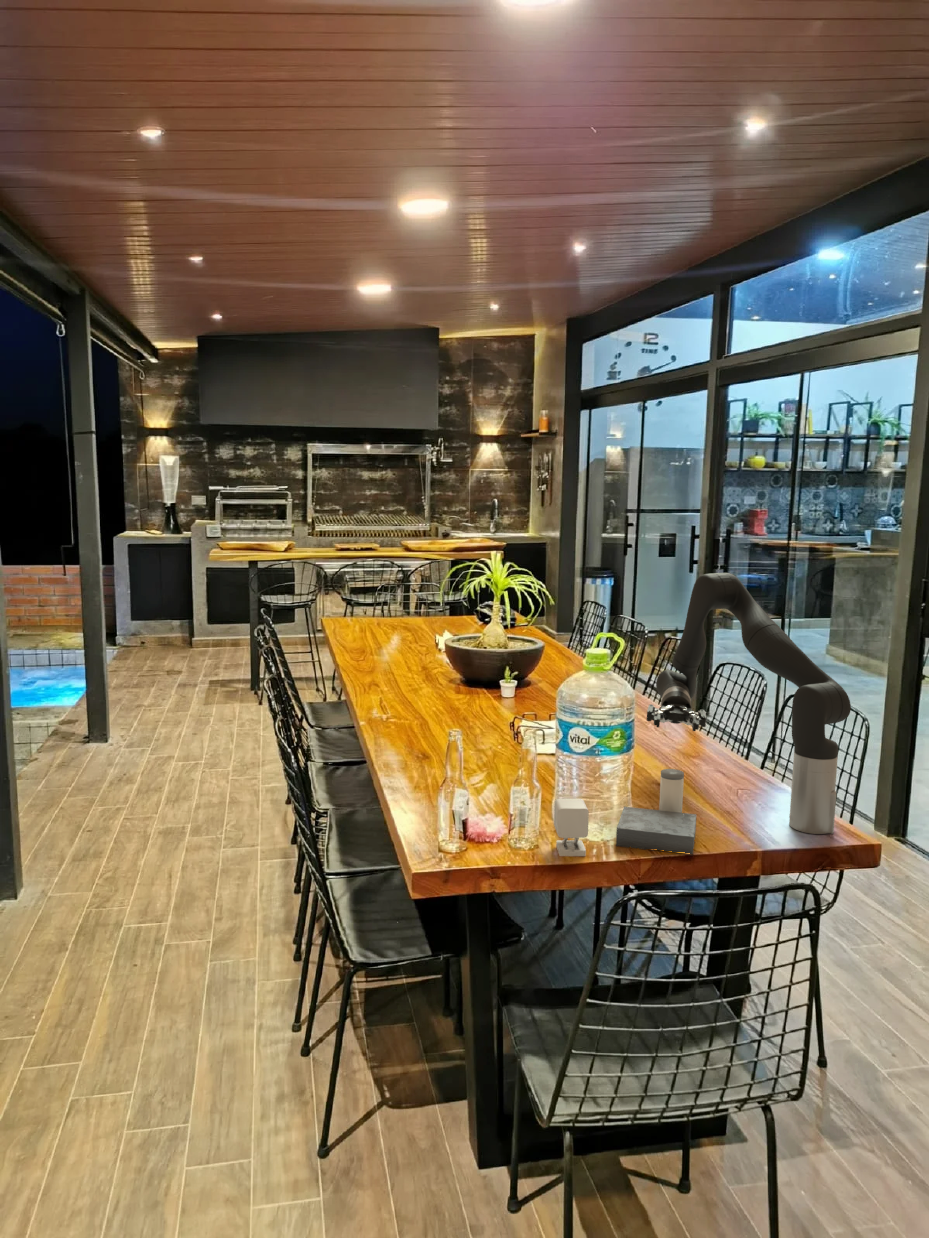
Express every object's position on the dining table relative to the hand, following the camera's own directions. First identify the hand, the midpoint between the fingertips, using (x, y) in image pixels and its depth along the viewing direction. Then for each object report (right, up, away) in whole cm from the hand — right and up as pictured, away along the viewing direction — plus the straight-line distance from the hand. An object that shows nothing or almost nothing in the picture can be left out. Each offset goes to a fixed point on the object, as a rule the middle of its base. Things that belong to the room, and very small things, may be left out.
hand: (676, 725), depth 222 cm
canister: (-3, -21, -7) cm, 22 cm away
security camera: (-29, -23, -27) cm, 46 cm away
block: (-9, -22, -20) cm, 31 cm away
